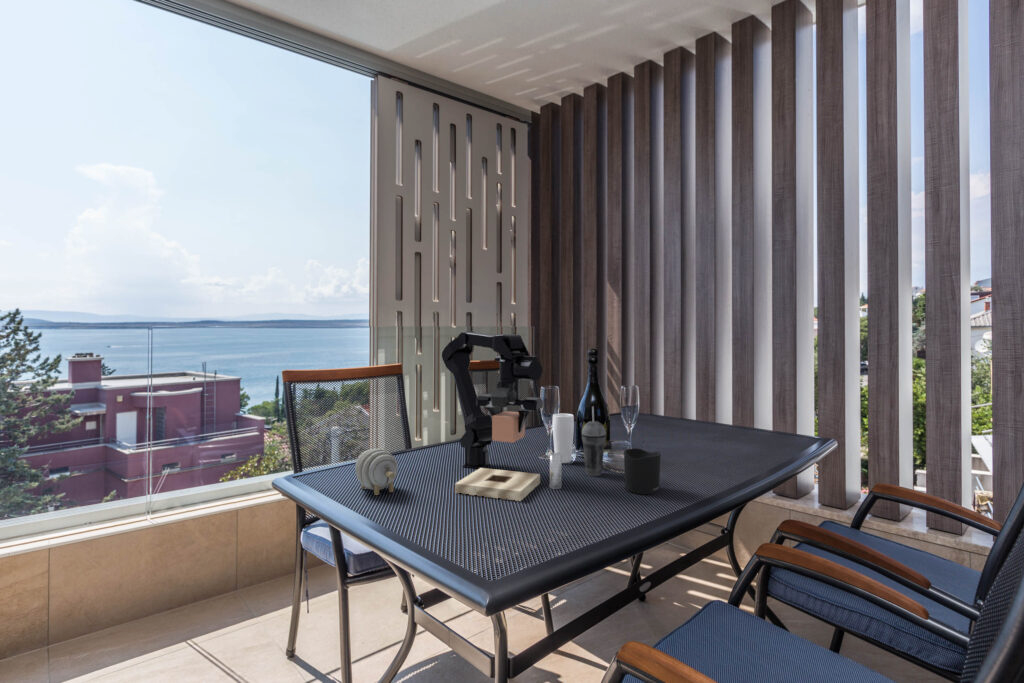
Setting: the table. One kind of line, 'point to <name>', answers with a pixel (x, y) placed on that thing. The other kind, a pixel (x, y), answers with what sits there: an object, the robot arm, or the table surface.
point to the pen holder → (642, 471)
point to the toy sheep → (376, 470)
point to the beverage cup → (593, 446)
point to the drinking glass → (563, 435)
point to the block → (506, 427)
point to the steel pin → (555, 470)
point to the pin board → (498, 484)
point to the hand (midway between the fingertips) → (508, 431)
